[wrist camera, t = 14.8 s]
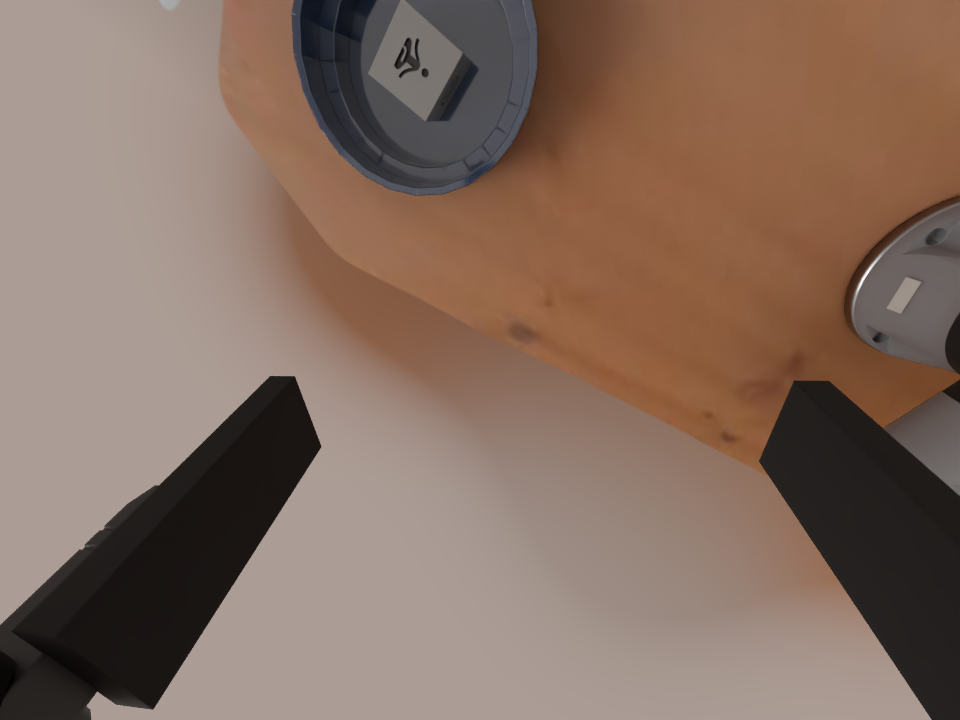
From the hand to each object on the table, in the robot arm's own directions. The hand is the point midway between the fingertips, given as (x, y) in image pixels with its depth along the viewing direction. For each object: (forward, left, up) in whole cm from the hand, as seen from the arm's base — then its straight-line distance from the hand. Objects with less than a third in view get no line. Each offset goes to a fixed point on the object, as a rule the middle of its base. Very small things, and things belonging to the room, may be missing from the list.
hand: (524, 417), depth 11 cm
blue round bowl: (+8, -11, -31) cm, 34 cm away
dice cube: (+8, -11, -30) cm, 33 cm away
